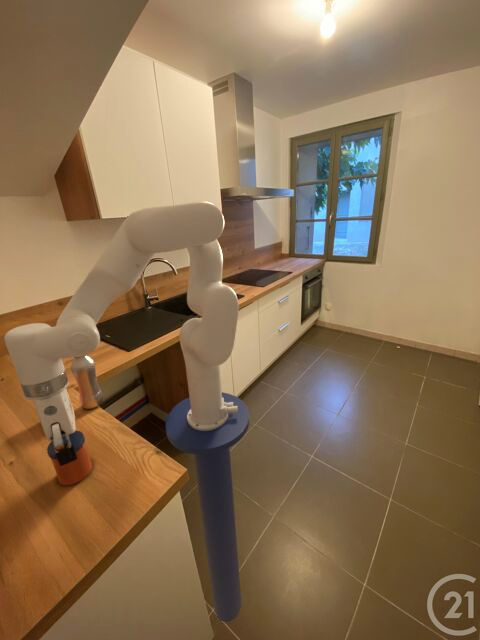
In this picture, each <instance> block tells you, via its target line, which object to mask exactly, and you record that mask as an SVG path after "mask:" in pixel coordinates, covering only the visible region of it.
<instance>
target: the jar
mask: <svg viewBox="0 0 480 640" xmlns="http://www.w3.org/2000/svg"><path fill="white" fill-rule="evenodd" d="M76 455H77V459H76V460H74V461H72V462H70V463H67V464H65V465H63V466H60V465H59V462H58V459H52V458H50V461H51V463H52V466H53V468H54V471H55V474H56V477H57V479H58V482H59V484H61V485H62V486H72V485H75V484H77V483H79V482H81V481H83V480H84V479H85V478H87V476H89V475H90V473H91V471H92V469H93V463H92V459H91V457H90V453H89V450H88V446H87V444H86V441H85V442H84V445H83V446H82V447H81V449H80V450H78V451H77V452H76Z"/></svg>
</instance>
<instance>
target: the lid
mask: <svg viewBox="0 0 480 640" xmlns="http://www.w3.org/2000/svg"><path fill="white" fill-rule="evenodd" d="M69 437H70V441H71V444H72V443H73V446H74V449H75V452H77V451H78V450H80V449H81V447H82V446H83V445H84V442H85V443H86V437H85V435H84V433H83V432H82V431H80V430H75V432H74V433H73V434H69ZM62 439H63V441H64V442H67V441H66V437H63V438H62ZM46 451H47V452H46V453H47V455H48V457H49V458H50V459H51V458H52V459H57V456H56V453H55V448H54V444H53V440H52V441H50V442H49V444H48V446H47V448H46Z"/></svg>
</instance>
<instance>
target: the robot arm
mask: <svg viewBox="0 0 480 640" xmlns="http://www.w3.org/2000/svg"><path fill="white" fill-rule="evenodd" d="M224 229H225V218H224V214H223V212H222V210H221V208H219V207H218V206H217V205H216V204H214V203H212V202H210V201H206V200H200V201H195V202H194V201H193V202H187V203H186V202H185V203H179V204H172V205H163V206H152V207H145V208H142V209H138V210H135V211H133V212H131V213H129V214H128V215H127V217H126V218H125V220H123V222H122V223H121V225H120V226H119V227H118V229H117V231H116V232H115V234H114V235H113V237H112V239H111V240H110V241H109V243H108V245H107V246H106V248H105V249H104V250H103V252H102V254H101V255H100V257H99V258H98V260H97V261H96V263H95V264H94V266H92V268H91V269H90V271H89V272H88V274H87V275H86V277H85V279H84V280H83V281H82V283H81V284H80V285H79V287H78V288H77V289H76V291H75V292H74V294H73V295H72V297H70V299H69V301H68V302H67V304H66V306H65V307H64V308H63V310H62V312H61V313H60V315H59V317H58V318H57V321H56V322H55V323H56V324H55V326H51V325H50V324H48V323H43V322H33V323H28V324H23V325H19V326H16V327H14V328H11V329H10V330H8V331H7V332H6V333H5V335H4V337H3V338H4V344H5V346H6V350H7V352H8V354H9V357H10V359H11V362H12V365H13V368H14V370H15V373H16V376H17V379H18V381H19V384H20V386H21V389H22V392H23V394H24V397H25V399H26V400H29V401H33V403H34V406H35V410H36V412H37V413H36V414H37V415H38V418H39V422H40V425H41V428H42V430H43V432H44V436H45V437H46V439H47V441H49V442H52V441H53V444H54V448H55V453H56V456H57V459H58V462H59V465H60V466H63V465H65V464H67V463H70V462H72V461H74V460H76V459H77V455H76V452H75V449H74V446H73V443H72V444H71V441H70V437H69V434H73V433H74V432H75V431H76V430H77V429H76V417H75V415H76V414H75V410H74V407H73V404H72V402H71V398H70V396H69V393H68V390H67V387H68V386H69V385H70V381H69V378H68V375H67V371H66V367H65V365H64V362H63V359H72V358H73V357H80V356H84V355H87V356H88V355H90V354H91V353H93V352H94V351H96V349H97V348H98V346H99V345H100V342H101V335H100V331H99V329H98V326H97V325H98V323H99V321H100V319H101V318H102V317H103V315H104V313H105V312H106V310H107V309H108V308H109V307H110V305H111V304H112V303H114V301H115V300H116V299H118V298H119V297H121V296H123V295H125V294H127V293H129V292H130V291H131V290H132V289H133V288H134V287H135V285H136V284H137V282H138V281H139V279H140V278H141V275H142V274H143V272H144V271H145V269H146V268H147V267H148V264H149V263H150V262H151V260H152V259H153V257H154V255H155V254H161V253H168V252H173V251H180V250H184V249H186V250H187V253H188V257H189V272H188V273H189V274H188V283H187V293H186V303H187V306H188V308H189V309H190V310H191V311H192V312H193V313H195V314H197V315H198V316H200V317H193V318H189V319H188V320H186V321H185V322H184V323H183V324H182V325H181V328H180V330H179V345H180V348H181V352H182V355H183V360H184V365H185V371H186V372H185V373H186V380H187V388H188V395H189V397H190V404H191V409H190V410H189V412H188V414H187V421H188V424H189V425H190V426H191V427H192V428H194V429H196V430H200V431H209V430H213V429H216V428H218V427H220V426H222V425H223V424H224V423H225V422H226V420H227V418H228V413H238V407H237V406H233V402H229V403H226V402H224V398H222V392H223V391H222V381H221V367H220V366H221V365H223V364H225V363H226V362H227V361H228V359H230V357H231V355H232V353H233V350H234V346H235V341H236V333H237V326H238V319H239V309H240V307H239V306H240V304H239V299H238V296H237V294H236V292H235V290H234V289H233V288H232V287H230V286H229V285H228V284H225V283H223V268H224V257H223V255H224V254H223V250H222V247H221V245H220V243H219V240H218V239H219V238H220V236H221V235H222V233H223V231H224ZM73 359H74V358H73ZM189 397H188V398H189ZM63 437H66V441H67V442H64V441H63V439H62V438H63Z"/></svg>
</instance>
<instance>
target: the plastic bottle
mask: <svg viewBox="0 0 480 640" xmlns="http://www.w3.org/2000/svg"><path fill="white" fill-rule="evenodd" d="M70 371H71V372H72V375H73V377H74V379H75V381H76V384H77V386H78V393H79V394H78V395H79V404H80V405H81V407H82V408H83V409H87V410H91V409H94V408H97V407H99V406H100V405H101V404H102V403H103V400H104V394H103V391H102V389H101V388H100V385H99V383H98V379H97V370H96V361H95V360H94V359H93V357H90V356H89V355H88V354H87V355H84V356H80V357H73V360H72V362H71V365H70ZM96 405H97V406H96Z"/></svg>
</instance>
